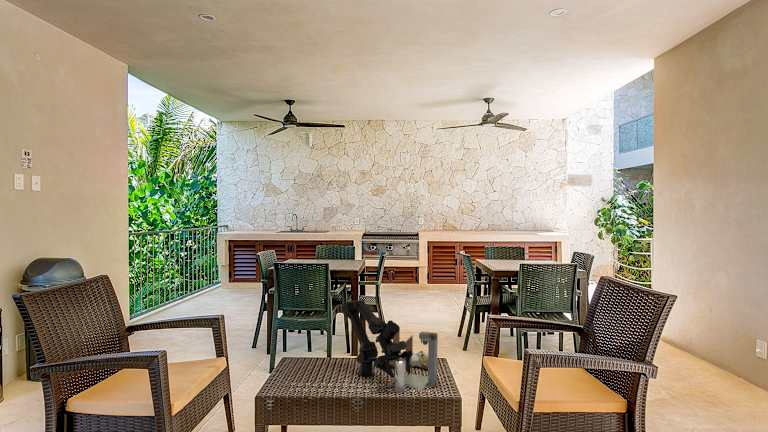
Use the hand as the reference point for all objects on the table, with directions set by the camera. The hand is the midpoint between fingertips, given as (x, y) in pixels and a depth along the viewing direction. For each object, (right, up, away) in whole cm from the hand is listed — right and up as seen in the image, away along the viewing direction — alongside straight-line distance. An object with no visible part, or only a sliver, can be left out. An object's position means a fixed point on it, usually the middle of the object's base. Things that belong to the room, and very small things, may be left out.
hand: (401, 375), depth 200 cm
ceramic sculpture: (+12, -8, +34) cm, 37 cm away
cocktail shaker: (-1, -7, +1) cm, 7 cm away
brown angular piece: (+2, -8, +43) cm, 44 cm away
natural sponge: (-3, -8, +34) cm, 35 cm away
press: (+8, -7, +8) cm, 13 cm away
